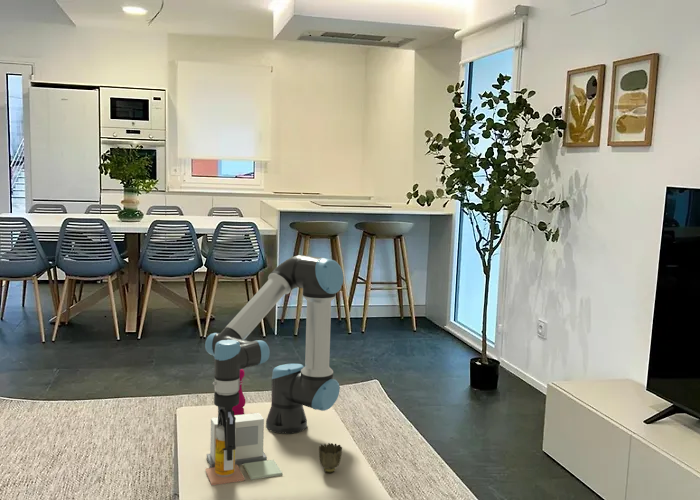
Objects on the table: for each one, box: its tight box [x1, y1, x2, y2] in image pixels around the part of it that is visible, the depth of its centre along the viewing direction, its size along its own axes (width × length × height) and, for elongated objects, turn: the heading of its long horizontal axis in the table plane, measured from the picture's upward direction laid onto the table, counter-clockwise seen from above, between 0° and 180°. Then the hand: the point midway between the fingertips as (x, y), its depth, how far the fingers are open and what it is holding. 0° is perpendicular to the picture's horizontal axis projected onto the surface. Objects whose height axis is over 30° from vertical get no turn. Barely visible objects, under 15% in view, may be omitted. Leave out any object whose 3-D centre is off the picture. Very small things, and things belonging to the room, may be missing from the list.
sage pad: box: [242, 459, 283, 481], centre depth 207 cm, size 10×10×1 cm
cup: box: [318, 442, 343, 474], centre depth 208 cm, size 8×7×8 cm
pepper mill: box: [232, 369, 246, 415], centre depth 254 cm, size 7×7×20 cm
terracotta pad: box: [204, 464, 245, 486], centre depth 203 cm, size 10×10×1 cm
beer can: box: [215, 424, 236, 477], centre depth 202 cm, size 6×6×15 cm
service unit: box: [206, 412, 268, 468], centre depth 213 cm, size 18×8×14 cm, turn 113°
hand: (225, 464), depth 202 cm, fingers open, 7 cm apart
